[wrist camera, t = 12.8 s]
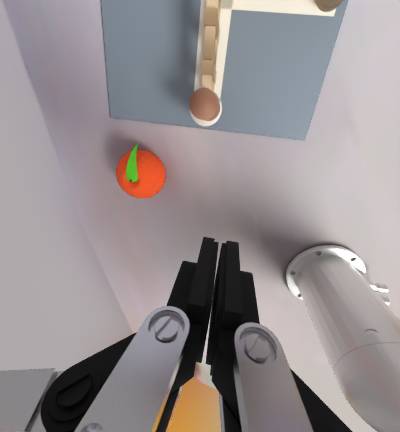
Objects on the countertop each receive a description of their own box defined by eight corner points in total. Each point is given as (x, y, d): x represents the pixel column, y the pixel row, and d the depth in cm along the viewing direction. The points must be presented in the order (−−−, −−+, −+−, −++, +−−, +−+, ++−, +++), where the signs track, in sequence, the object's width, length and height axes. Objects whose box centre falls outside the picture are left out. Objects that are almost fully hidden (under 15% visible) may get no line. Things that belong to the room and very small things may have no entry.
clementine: (128, 137, 30) (101, 140, 24) (172, 143, 30) (157, 148, 23) (130, 187, 34) (107, 201, 27) (169, 193, 33) (155, 209, 27)
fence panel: (203, -1, 22) (195, -44, 17) (230, -1, 22) (230, -44, 16) (197, 120, 27) (188, 118, 22) (218, 121, 27) (215, 120, 22)
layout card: (378, -101, 18) (380, -104, 18) (304, 140, 27) (305, 140, 27) (94, -107, 21) (91, -110, 20) (111, 117, 30) (110, 117, 29)
